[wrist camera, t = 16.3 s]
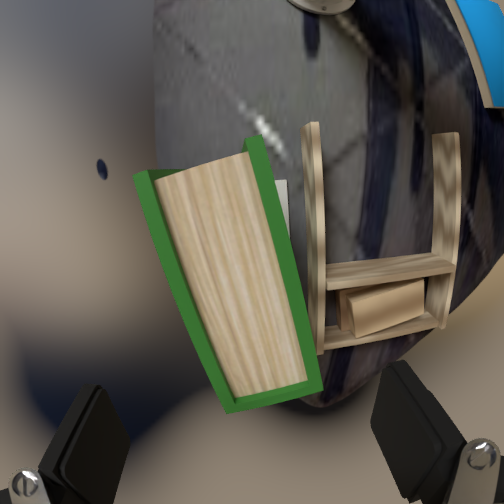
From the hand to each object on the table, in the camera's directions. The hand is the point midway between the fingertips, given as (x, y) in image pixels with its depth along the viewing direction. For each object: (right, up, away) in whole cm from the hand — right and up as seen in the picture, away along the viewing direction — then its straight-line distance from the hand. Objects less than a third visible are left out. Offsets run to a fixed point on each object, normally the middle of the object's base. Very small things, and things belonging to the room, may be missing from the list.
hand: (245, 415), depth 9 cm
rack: (+19, +8, +34) cm, 40 cm away
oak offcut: (+20, -2, +34) cm, 40 cm away
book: (+48, +45, +26) cm, 71 cm away
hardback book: (-2, +9, +32) cm, 34 cm away
